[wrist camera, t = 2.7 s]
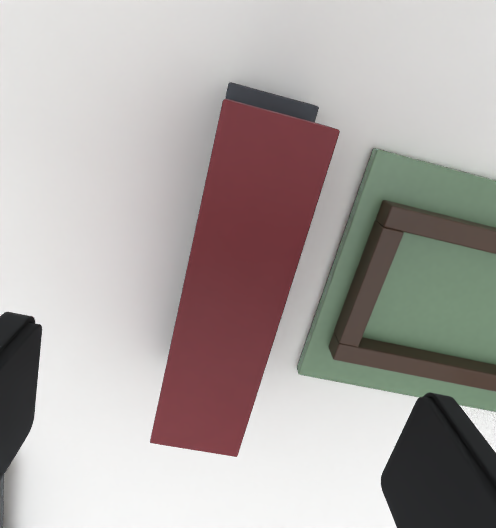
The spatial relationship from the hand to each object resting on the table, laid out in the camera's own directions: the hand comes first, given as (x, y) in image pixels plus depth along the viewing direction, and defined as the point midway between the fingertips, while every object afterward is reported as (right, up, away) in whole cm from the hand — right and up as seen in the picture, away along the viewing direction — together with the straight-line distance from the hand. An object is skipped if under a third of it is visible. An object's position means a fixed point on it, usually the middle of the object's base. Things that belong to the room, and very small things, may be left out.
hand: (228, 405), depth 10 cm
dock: (+15, +1, +12) cm, 19 cm away
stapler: (0, +4, +10) cm, 11 cm away
